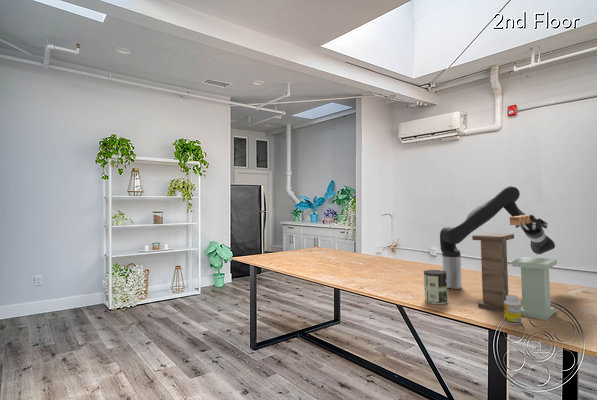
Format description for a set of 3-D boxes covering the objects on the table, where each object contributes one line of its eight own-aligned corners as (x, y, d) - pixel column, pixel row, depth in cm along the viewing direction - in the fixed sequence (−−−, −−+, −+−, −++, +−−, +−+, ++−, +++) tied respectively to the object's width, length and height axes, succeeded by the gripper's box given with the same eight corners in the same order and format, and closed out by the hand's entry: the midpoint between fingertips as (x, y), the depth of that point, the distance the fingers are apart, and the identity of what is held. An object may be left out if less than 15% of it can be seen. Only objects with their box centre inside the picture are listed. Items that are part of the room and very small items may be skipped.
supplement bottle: (506, 319, 138) (505, 293, 138) (522, 322, 135) (521, 295, 135) (503, 323, 134) (502, 296, 134) (520, 326, 130) (519, 298, 131)
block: (518, 225, 152) (518, 217, 152) (509, 225, 154) (509, 217, 154) (533, 222, 168) (533, 214, 168) (525, 222, 171) (524, 214, 171)
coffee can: (444, 298, 170) (443, 269, 171) (450, 304, 160) (449, 274, 160) (422, 298, 172) (421, 269, 172) (426, 304, 162) (425, 273, 162)
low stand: (549, 321, 135) (546, 264, 135) (514, 314, 144) (512, 261, 144) (558, 312, 146) (556, 259, 146) (525, 306, 154) (523, 256, 155)
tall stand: (504, 313, 146) (501, 236, 147) (474, 307, 155) (472, 235, 156) (516, 305, 157) (514, 233, 158) (488, 300, 166) (485, 232, 166)
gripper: (519, 225, 182) (510, 209, 172) (552, 225, 172) (544, 209, 162) (517, 238, 179) (508, 223, 169) (551, 239, 169) (543, 223, 159)
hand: (526, 216), depth 166 cm, fingers closed on block, 3 cm apart
